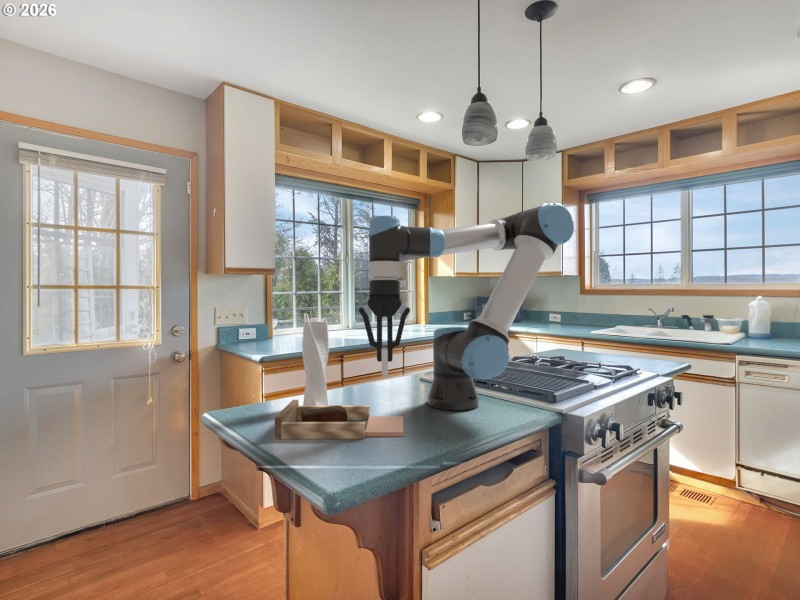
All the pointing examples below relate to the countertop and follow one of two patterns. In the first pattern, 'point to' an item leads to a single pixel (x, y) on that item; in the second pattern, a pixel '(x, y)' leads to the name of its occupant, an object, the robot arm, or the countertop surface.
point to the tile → (385, 426)
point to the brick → (325, 414)
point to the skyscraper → (315, 360)
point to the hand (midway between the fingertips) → (384, 374)
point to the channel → (320, 423)
